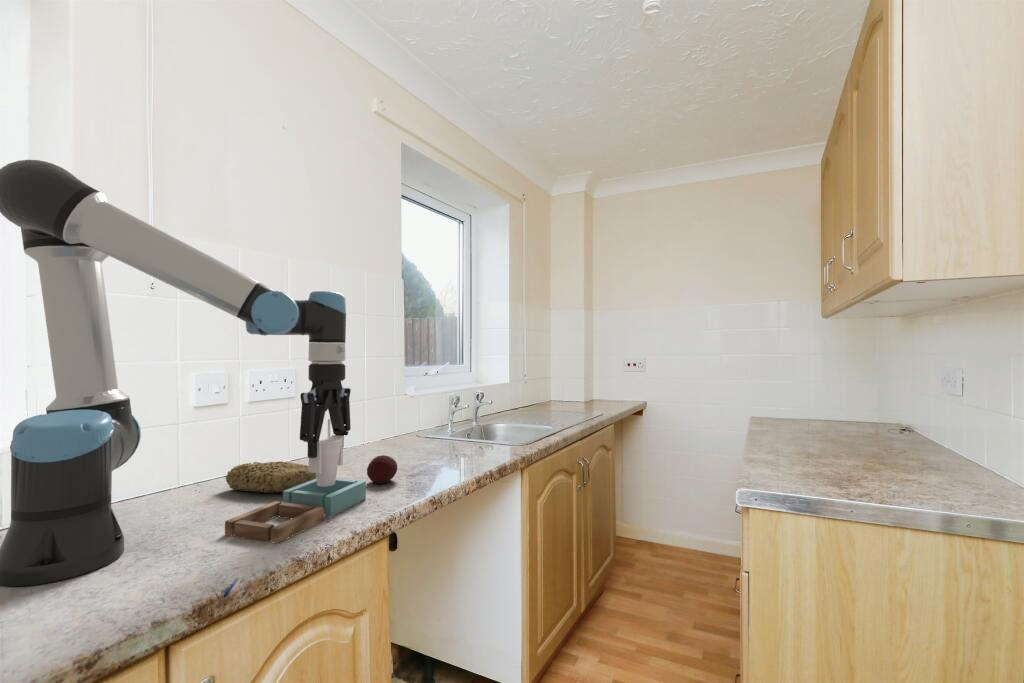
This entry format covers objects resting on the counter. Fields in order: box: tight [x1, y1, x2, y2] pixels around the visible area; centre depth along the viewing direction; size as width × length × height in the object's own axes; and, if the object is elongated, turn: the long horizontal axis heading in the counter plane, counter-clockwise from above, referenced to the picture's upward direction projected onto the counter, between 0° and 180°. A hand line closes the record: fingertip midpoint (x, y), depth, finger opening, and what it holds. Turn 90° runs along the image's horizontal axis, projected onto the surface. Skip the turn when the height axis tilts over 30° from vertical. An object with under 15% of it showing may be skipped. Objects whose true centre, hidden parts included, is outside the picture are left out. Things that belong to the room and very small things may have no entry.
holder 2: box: [282, 477, 367, 517], centre depth 106 cm, size 12×12×4 cm
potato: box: [366, 454, 398, 485], centre depth 123 cm, size 7×8×7 cm
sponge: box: [225, 461, 316, 494], centre depth 116 cm, size 13×8×20 cm
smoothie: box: [316, 418, 342, 487], centre depth 106 cm, size 6×6×14 cm
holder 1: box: [224, 500, 325, 544], centre depth 92 cm, size 12×12×2 cm
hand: (326, 468), depth 106 cm, fingers closed on smoothie, 6 cm apart
